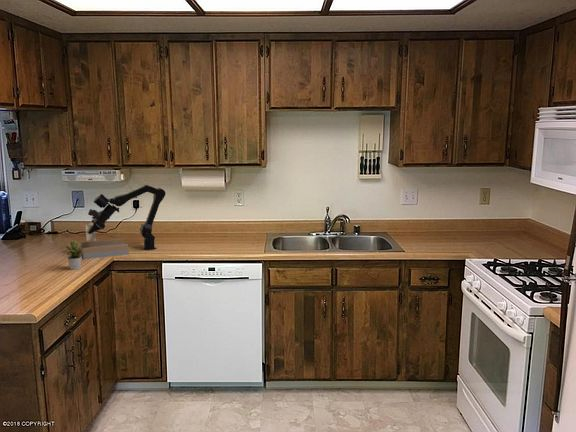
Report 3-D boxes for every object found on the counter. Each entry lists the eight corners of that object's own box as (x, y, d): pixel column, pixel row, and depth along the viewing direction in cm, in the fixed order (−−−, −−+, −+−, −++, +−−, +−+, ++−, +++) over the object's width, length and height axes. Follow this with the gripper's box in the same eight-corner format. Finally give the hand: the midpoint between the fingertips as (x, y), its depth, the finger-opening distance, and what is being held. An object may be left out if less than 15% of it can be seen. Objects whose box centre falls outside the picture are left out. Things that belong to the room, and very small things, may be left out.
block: (95, 238, 294) (94, 222, 293) (96, 240, 290) (95, 223, 288) (86, 239, 292) (85, 223, 290) (87, 241, 288) (86, 224, 286)
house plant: (55, 267, 264) (53, 238, 261) (81, 263, 274) (79, 234, 271) (65, 273, 254) (63, 242, 251) (91, 268, 264) (89, 238, 261)
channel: (124, 247, 309) (123, 238, 308) (128, 254, 294) (128, 244, 292) (81, 251, 298) (80, 242, 297) (83, 258, 282) (83, 248, 281)
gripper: (94, 202, 297) (76, 221, 294) (97, 206, 281) (78, 227, 278) (109, 213, 302) (91, 232, 299) (112, 219, 286) (94, 239, 283)
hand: (88, 232), depth 290 cm, fingers closed on block, 5 cm apart
